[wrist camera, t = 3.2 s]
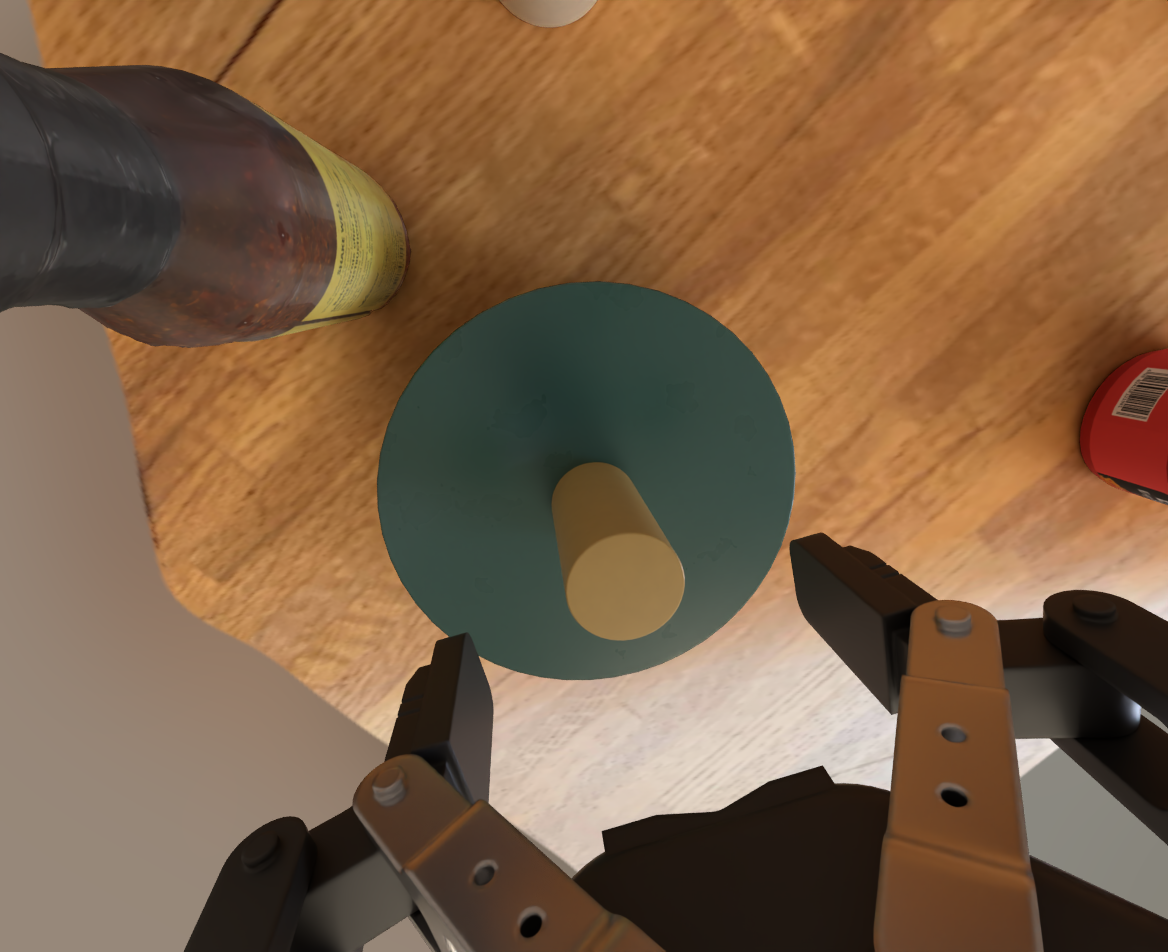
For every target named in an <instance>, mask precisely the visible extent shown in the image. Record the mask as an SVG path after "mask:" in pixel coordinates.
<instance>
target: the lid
mask: <svg viewBox="0 0 1168 952" xmlns="http://www.w3.org/2000/svg"><path fill="white" fill-rule="evenodd" d="M795 474H796V472H795V457H794V446H793V441H792V436H791V431H790V426H789V422H788V419H787V416H786V413H785V410H784V408H783V405H782V402H781V399H780V397H779V395H778V393H777V391H776V389H775V387H774V385H773V383H772V381H771V380H770V378H769V376H768V374H767V373H766V371H765V370H764V368H763V367H762V366H761V364H760V363H759V361H758V360H757V359H756V357H755V356H754V355H753V353H752V352H751V351H750V350H749V349H748V348H747V347H746V346H745V345H744V344H743V343H742V342H741V341H740V340H739V338H738V337H737V336H736V335H735V334H734V333H733V332H731V331H730V330H729V329H727V328H726V327H725V326H724V325H722V324H721V323H720V322H718V321H717V320H716V319H715V318H713V317H712V316H711V315H709V314H707V313H705V312H704V311H702V310H700V309H698V308H696V307H695V306H693V305H691V304H689V303H688V302H686V301H683V300H681V299H678V298H676V297H673V296H671V295H668V294H665V293H663V292H660V291H657V290H653V289H649V288H644V287H640V286H636V285H632V284H624V283H613V282H602V281H595V282H575V283H565V284H560V285H555V286H549V287H544V288H539V289H536V290H533V291H530V292H527V293H524V294H521V295H518V296H515V297H512V298H509V299H507V300H505V301H503V302H501V303H499V304H497V305H495V306H493V307H491V308H489V309H487V310H485V311H483V312H481V313H480V314H478V315H477V316H475V317H474V318H472V319H471V320H469V321H468V322H467V323H465V324H464V325H462V326H461V327H459V328H458V329H456V330H455V331H454V332H453V333H452V334H451V335H450V336H449V337H448V338H446V339H445V340H444V341H443V342H442V343H441V344H440V345H439V346H438V347H437V348H436V349H435V350H433V352H432V353H431V354H430V355H429V356H428V358H427V359H426V360H425V361H424V363H423V364H422V365H421V366H420V367H419V369H418V370H417V371H416V372H415V373H414V375H413V377H412V378H411V380H410V382H409V383H408V385H407V386H406V388H405V390H404V391H403V393H402V395H401V396H400V398H399V400H398V402H397V405H396V407H395V409H394V412H393V414H392V416H391V419H390V421H389V423H388V426H387V429H386V433H385V437H384V441H383V444H382V448H381V452H380V459H379V467H378V476H377V500H378V512H379V518H380V524H381V530H382V535H383V538H384V541H385V544H386V547H387V550H388V553H389V556H390V559H391V561H392V563H393V565H394V568H395V570H396V572H397V574H398V576H399V578H400V580H401V582H402V583H403V585H404V586H405V588H406V589H407V591H408V592H409V594H410V595H411V597H412V598H413V600H414V601H415V603H416V604H417V605H418V606H419V608H420V609H421V610H422V611H423V612H424V613H425V614H426V615H427V617H428V618H429V619H430V620H431V621H432V622H433V623H434V624H435V625H436V626H437V627H439V628H440V629H441V630H442V631H443V632H444V633H445V634H447V635H448V636H449V637H452V636H455V635H459V634H462V633H466V632H468V633H469V634H470V636H471V638H472V640H473V643H474V646H475V648H476V651H477V654H478V656H480V657H482V658H484V659H486V660H488V661H490V662H492V663H494V664H497V665H500V666H503V667H505V668H508V669H511V670H514V671H517V672H520V673H525V674H529V675H533V676H538V677H543V678H552V679H561V680H594V679H603V678H612V677H618V676H622V675H626V674H631V673H635V672H639V671H642V670H645V669H648V668H651V667H654V666H657V665H660V664H662V663H664V662H666V661H669V660H671V659H673V658H675V657H677V656H679V655H681V654H683V653H685V652H687V651H688V650H690V649H692V648H693V647H695V646H697V645H698V644H700V643H701V642H703V641H705V640H706V639H707V638H709V637H710V636H711V635H712V634H714V633H715V632H716V631H718V630H719V629H720V628H721V627H723V626H724V625H725V624H726V623H727V622H728V621H729V620H730V619H731V618H732V617H733V616H734V615H735V614H736V613H737V612H738V611H739V610H740V609H741V608H742V607H743V606H744V605H745V604H746V602H747V601H748V600H749V599H750V597H751V596H752V595H753V594H754V592H755V591H756V590H757V589H758V587H759V585H760V584H761V582H762V581H763V579H764V578H765V576H766V574H767V573H768V571H769V570H770V568H771V566H772V564H773V562H774V560H775V558H776V556H777V554H778V551H779V549H780V547H781V545H782V542H783V539H784V536H785V533H786V530H787V527H788V524H789V520H790V515H791V510H792V505H793V500H794V489H795Z"/></svg>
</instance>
